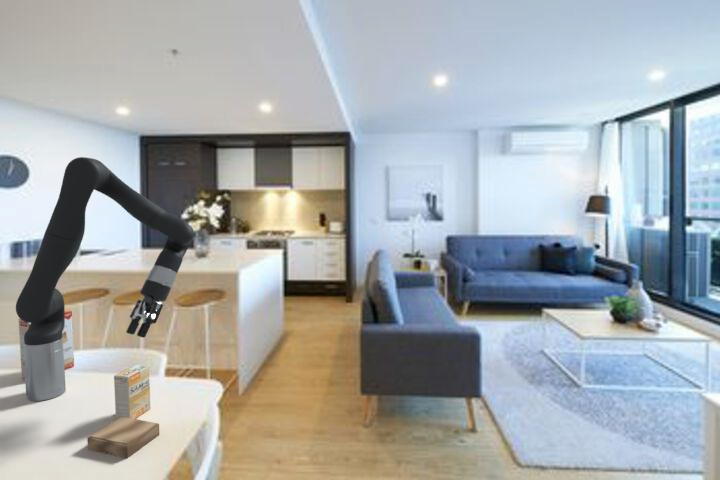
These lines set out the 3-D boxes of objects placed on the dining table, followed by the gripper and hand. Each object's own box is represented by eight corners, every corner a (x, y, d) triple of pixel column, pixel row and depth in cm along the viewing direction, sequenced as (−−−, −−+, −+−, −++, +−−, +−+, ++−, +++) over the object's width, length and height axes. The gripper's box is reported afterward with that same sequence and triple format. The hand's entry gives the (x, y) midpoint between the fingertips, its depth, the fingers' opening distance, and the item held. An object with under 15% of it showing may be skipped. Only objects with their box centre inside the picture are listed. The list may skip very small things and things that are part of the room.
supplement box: (130, 423, 110) (128, 377, 109) (115, 421, 111) (112, 375, 110) (151, 408, 118) (149, 365, 117) (137, 406, 119) (135, 363, 118)
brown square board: (87, 449, 99) (87, 436, 99) (122, 427, 109) (121, 415, 108) (127, 458, 96) (127, 445, 96) (159, 434, 105) (159, 422, 105)
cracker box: (32, 382, 134) (28, 320, 132) (21, 379, 136) (16, 318, 134) (75, 366, 147) (72, 309, 145) (64, 363, 149) (61, 308, 147)
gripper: (138, 278, 127) (113, 329, 121) (156, 278, 117) (131, 334, 112) (161, 287, 132) (138, 336, 126) (180, 288, 122) (157, 341, 116)
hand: (135, 335), depth 119 cm, fingers open, 8 cm apart
